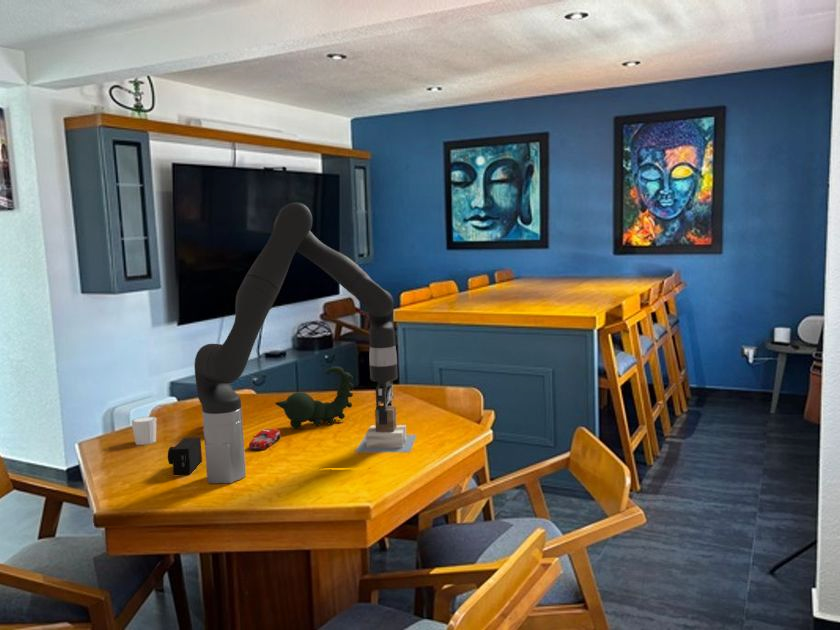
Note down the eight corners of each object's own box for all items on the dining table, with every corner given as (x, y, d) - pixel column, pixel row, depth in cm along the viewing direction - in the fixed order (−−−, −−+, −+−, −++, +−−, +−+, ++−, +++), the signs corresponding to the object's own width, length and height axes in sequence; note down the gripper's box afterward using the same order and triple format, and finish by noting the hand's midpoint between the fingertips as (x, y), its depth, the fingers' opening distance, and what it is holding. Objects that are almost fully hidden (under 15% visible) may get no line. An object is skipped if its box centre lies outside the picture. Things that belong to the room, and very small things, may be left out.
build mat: (410, 454, 185) (410, 452, 185) (354, 454, 186) (354, 452, 186) (416, 436, 200) (416, 434, 200) (365, 437, 202) (365, 435, 202)
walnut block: (393, 431, 190) (392, 410, 190) (375, 431, 191) (374, 410, 190) (396, 426, 195) (395, 405, 194) (379, 426, 196) (378, 405, 195)
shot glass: (162, 441, 206) (160, 418, 205) (139, 447, 201) (137, 423, 200) (151, 437, 210) (149, 415, 210) (129, 443, 206) (127, 419, 205)
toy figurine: (343, 420, 228) (269, 426, 215) (345, 363, 227) (271, 366, 214) (355, 427, 220) (279, 433, 207) (357, 367, 219) (281, 370, 206)
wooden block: (402, 447, 189) (402, 433, 188) (366, 447, 190) (365, 433, 189) (406, 438, 197) (405, 425, 196) (371, 439, 198) (371, 425, 197)
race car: (264, 452, 192) (263, 438, 192) (246, 451, 193) (245, 438, 193) (284, 438, 205) (283, 425, 204) (267, 438, 206) (266, 424, 206)
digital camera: (181, 463, 185) (179, 437, 184) (202, 462, 185) (200, 436, 184) (168, 476, 175) (166, 449, 174) (190, 475, 175) (188, 448, 174)
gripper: (392, 367, 183) (395, 427, 185) (400, 357, 197) (402, 413, 199) (365, 367, 184) (367, 427, 186) (374, 358, 198) (376, 413, 200)
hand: (385, 420), depth 193 cm, fingers open, 8 cm apart
